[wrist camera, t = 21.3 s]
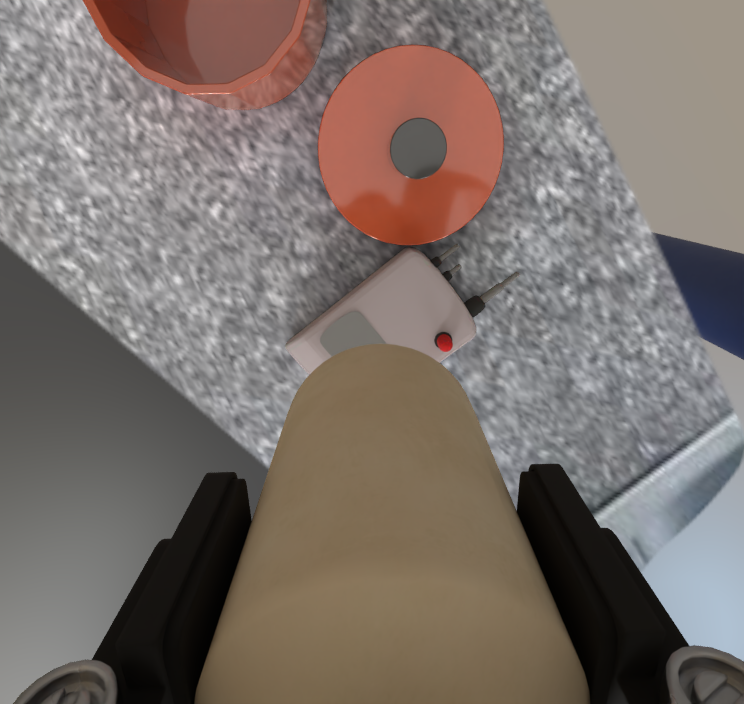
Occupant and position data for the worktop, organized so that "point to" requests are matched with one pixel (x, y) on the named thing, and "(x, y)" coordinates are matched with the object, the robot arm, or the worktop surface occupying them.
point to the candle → (387, 557)
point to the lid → (410, 145)
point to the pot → (217, 45)
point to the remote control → (396, 312)
